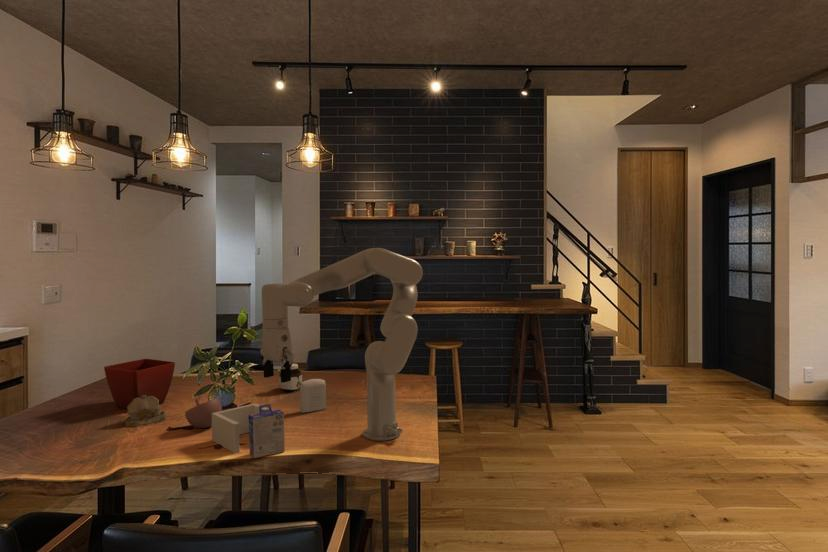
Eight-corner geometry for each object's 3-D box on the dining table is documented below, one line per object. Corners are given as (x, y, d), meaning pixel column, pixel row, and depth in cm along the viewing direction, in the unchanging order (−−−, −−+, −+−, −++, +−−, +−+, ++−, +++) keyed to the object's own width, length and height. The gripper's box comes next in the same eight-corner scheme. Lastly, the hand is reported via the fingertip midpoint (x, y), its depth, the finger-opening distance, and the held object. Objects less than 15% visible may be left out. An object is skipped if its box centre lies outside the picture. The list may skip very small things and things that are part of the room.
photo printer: (323, 406, 201) (322, 376, 200) (327, 409, 197) (327, 378, 197) (298, 411, 195) (298, 380, 195) (302, 414, 191) (302, 382, 191)
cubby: (279, 439, 164) (279, 412, 164) (234, 453, 153) (234, 424, 153) (255, 428, 175) (255, 403, 175) (212, 440, 164) (211, 413, 164)
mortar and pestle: (203, 420, 185) (203, 389, 184) (229, 423, 181) (228, 392, 180) (177, 430, 174) (177, 398, 173) (204, 434, 169) (203, 401, 169)
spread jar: (288, 394, 220) (288, 368, 220) (270, 390, 226) (270, 365, 226) (307, 388, 230) (307, 363, 230) (290, 385, 236) (289, 360, 236)
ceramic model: (122, 429, 176) (121, 401, 176) (123, 420, 186) (122, 393, 186) (166, 422, 183) (166, 395, 182) (165, 414, 193) (164, 388, 192)
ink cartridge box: (279, 446, 158) (279, 401, 158) (285, 451, 154) (285, 405, 153) (248, 453, 153) (247, 406, 152) (253, 459, 148) (252, 411, 148)
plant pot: (177, 401, 210) (176, 361, 210) (135, 414, 193) (134, 371, 192) (146, 396, 218) (145, 358, 218) (103, 408, 201) (102, 366, 200)
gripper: (301, 324, 150) (303, 381, 150) (271, 320, 161) (273, 372, 162) (279, 327, 144) (281, 386, 145) (250, 323, 156) (251, 377, 157)
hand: (277, 379), depth 153 cm, fingers open, 9 cm apart
